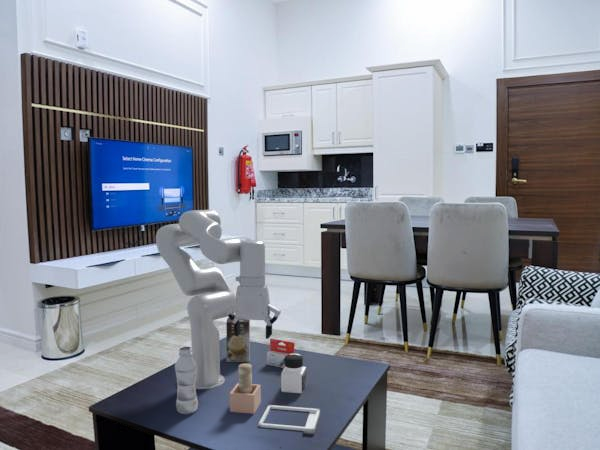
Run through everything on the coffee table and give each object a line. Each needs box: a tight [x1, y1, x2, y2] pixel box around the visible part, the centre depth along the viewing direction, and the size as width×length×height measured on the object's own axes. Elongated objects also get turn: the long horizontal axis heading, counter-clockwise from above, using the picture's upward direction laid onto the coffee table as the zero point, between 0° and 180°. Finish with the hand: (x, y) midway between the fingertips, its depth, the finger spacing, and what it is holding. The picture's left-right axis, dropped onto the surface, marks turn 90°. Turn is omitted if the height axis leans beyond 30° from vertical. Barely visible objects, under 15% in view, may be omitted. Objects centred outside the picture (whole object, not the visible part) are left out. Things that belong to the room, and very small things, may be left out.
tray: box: [257, 404, 321, 435], centre depth 142 cm, size 16×12×2 cm
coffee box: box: [225, 317, 251, 363], centre depth 190 cm, size 9×6×16 cm
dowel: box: [238, 362, 253, 394], centre depth 149 cm, size 4×4×13 cm
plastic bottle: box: [174, 346, 199, 415], centre depth 146 cm, size 6×7×20 cm
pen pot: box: [229, 382, 262, 415], centre depth 149 cm, size 8×8×6 cm
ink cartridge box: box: [266, 337, 296, 369], centre depth 184 cm, size 2×11×10 cm, turn 61°
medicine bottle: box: [280, 353, 307, 394], centre depth 162 cm, size 7×7×12 cm
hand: (253, 336), depth 148 cm, fingers open, 9 cm apart
